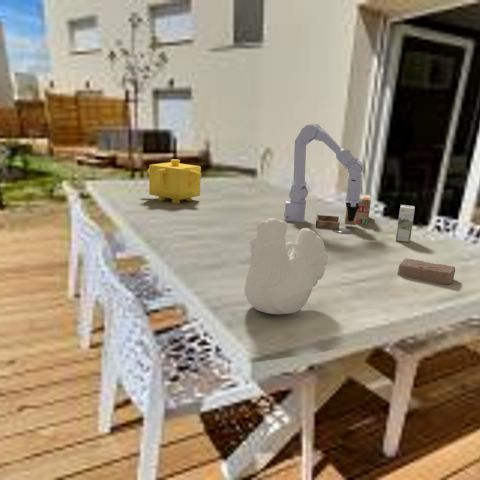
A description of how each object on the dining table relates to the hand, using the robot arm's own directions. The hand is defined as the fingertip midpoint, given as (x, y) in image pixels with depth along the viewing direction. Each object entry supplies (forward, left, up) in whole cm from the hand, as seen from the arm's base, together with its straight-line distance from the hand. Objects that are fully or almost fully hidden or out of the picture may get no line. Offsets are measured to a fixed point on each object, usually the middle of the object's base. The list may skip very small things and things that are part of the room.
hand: (350, 219), depth 226 cm
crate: (-10, 0, -4) cm, 11 cm away
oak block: (0, 0, -2) cm, 2 cm away
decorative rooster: (-20, -99, -4) cm, 101 cm away
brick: (+22, -60, -4) cm, 64 cm away
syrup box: (+21, -14, -4) cm, 26 cm away
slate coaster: (-3, -9, -4) cm, 10 cm away
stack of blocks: (+6, +19, -4) cm, 20 cm away
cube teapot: (-90, +32, -4) cm, 96 cm away
